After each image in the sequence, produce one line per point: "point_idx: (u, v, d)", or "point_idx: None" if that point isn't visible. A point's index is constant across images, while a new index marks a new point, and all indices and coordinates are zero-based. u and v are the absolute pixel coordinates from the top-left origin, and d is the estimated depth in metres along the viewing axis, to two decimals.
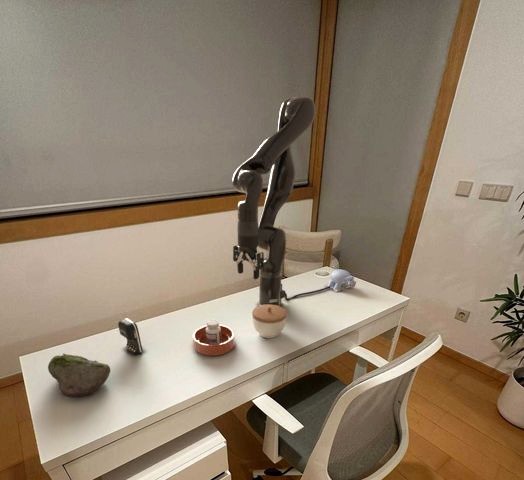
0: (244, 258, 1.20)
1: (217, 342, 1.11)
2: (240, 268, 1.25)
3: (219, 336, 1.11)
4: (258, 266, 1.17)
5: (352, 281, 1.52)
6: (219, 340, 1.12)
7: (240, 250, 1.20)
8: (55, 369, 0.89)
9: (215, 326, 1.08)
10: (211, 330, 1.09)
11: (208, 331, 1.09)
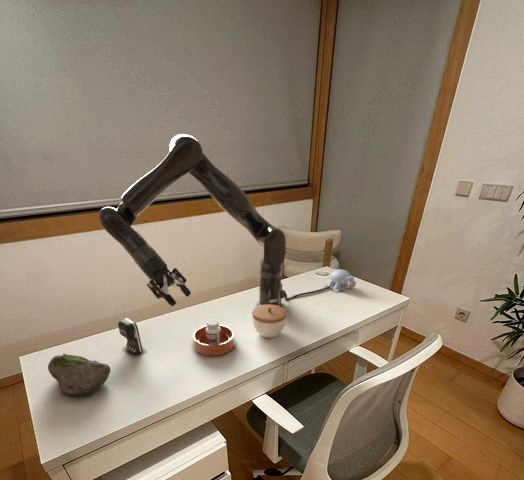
0: None
1: (217, 342, 1.11)
2: (184, 291, 1.12)
3: (219, 336, 1.11)
4: None
5: (352, 281, 1.52)
6: (219, 340, 1.12)
7: None
8: (55, 369, 0.89)
9: (215, 326, 1.08)
10: (211, 330, 1.09)
11: (208, 331, 1.09)
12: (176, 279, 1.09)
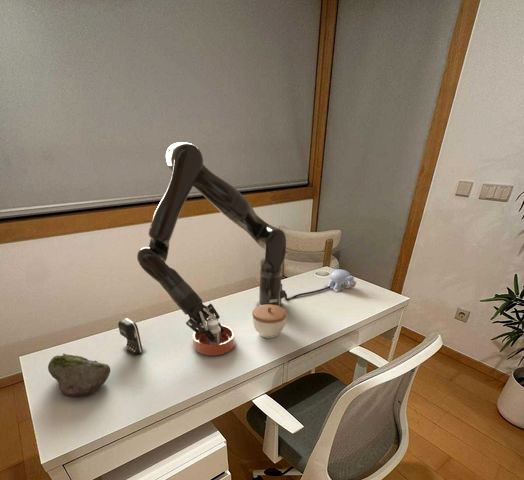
0: None
1: (217, 342, 1.11)
2: None
3: (219, 336, 1.11)
4: None
5: (352, 281, 1.52)
6: (219, 340, 1.12)
7: None
8: (55, 369, 0.89)
9: (215, 326, 1.08)
10: (211, 330, 1.09)
11: None
12: (210, 315, 1.11)
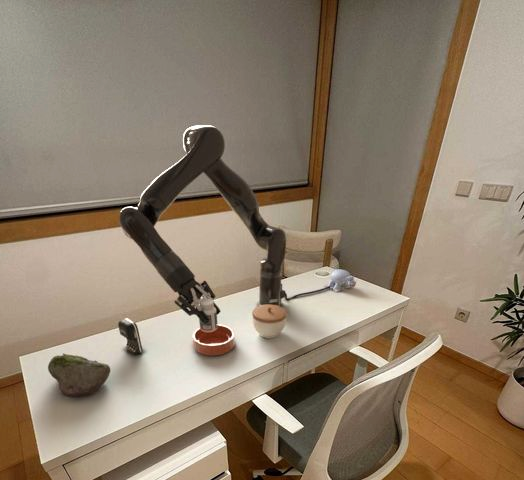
0: None
1: (212, 326, 0.94)
2: None
3: (214, 318, 0.94)
4: None
5: (352, 281, 1.52)
6: (214, 323, 0.95)
7: None
8: (55, 369, 0.89)
9: (209, 306, 0.91)
10: (205, 311, 0.92)
11: None
12: (204, 293, 0.93)
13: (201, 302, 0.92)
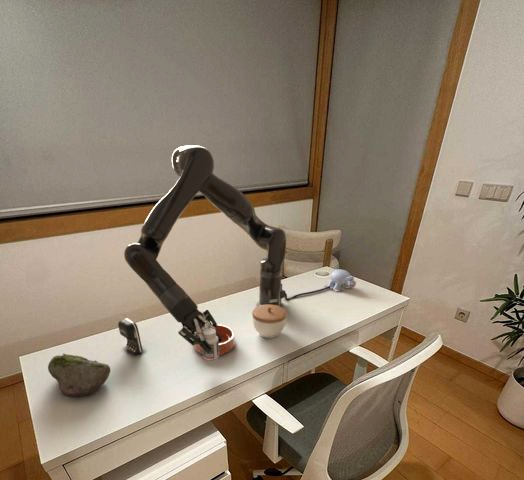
0: None
1: (214, 354, 0.98)
2: None
3: (216, 347, 0.97)
4: None
5: (352, 281, 1.52)
6: (216, 351, 0.98)
7: None
8: (55, 369, 0.89)
9: (212, 336, 0.95)
10: (207, 340, 0.95)
11: None
12: (207, 323, 0.97)
13: (204, 332, 0.95)
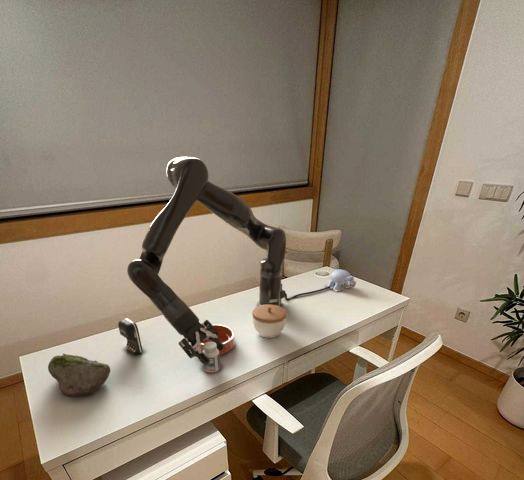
0: None
1: (215, 366, 1.01)
2: None
3: (217, 360, 1.00)
4: None
5: (352, 281, 1.52)
6: (217, 364, 1.01)
7: None
8: (55, 369, 0.89)
9: (213, 349, 0.97)
10: (208, 354, 0.98)
11: None
12: (209, 333, 1.00)
13: (205, 345, 0.98)
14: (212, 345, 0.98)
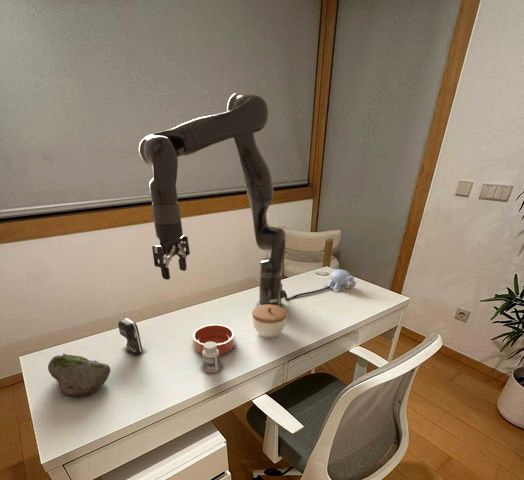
0: None
1: (215, 366, 1.01)
2: (180, 264, 1.02)
3: (217, 360, 1.00)
4: None
5: (352, 281, 1.52)
6: (217, 364, 1.01)
7: None
8: (55, 369, 0.89)
9: (213, 349, 0.97)
10: (208, 354, 0.98)
11: (205, 355, 0.98)
12: (182, 252, 0.98)
13: (205, 345, 0.98)
14: (212, 345, 0.98)
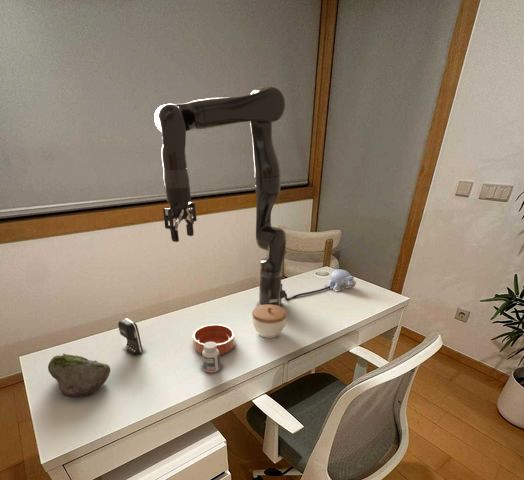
0: None
1: (215, 366, 1.01)
2: (188, 229, 1.11)
3: (217, 360, 1.00)
4: None
5: (352, 281, 1.52)
6: (217, 364, 1.01)
7: None
8: (55, 369, 0.89)
9: (213, 349, 0.97)
10: (208, 354, 0.98)
11: (205, 355, 0.98)
12: (189, 217, 1.06)
13: (205, 345, 0.98)
14: (212, 345, 0.98)
